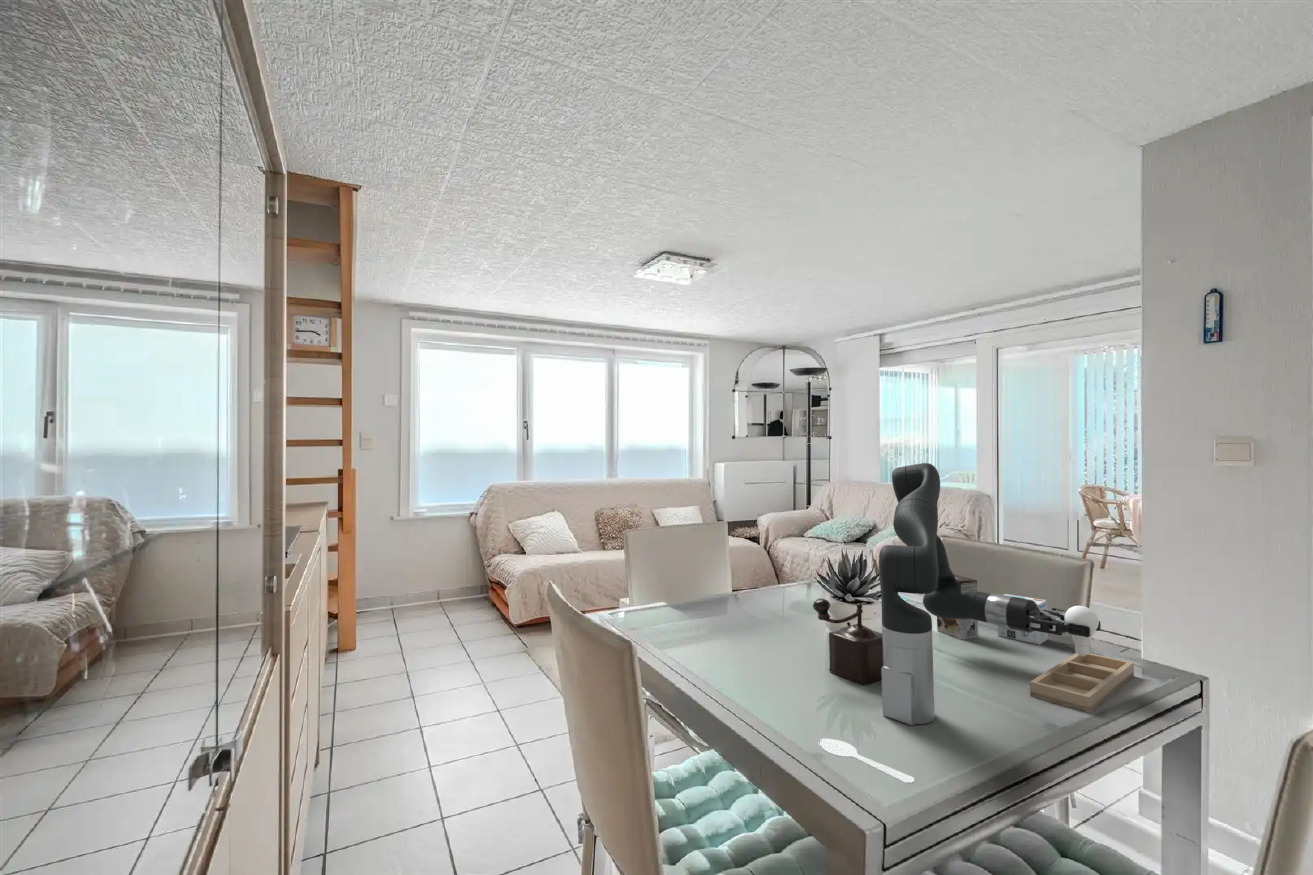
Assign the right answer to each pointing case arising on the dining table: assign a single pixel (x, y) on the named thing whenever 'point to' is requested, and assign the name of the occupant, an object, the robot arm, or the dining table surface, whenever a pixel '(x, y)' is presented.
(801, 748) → the dining table surface
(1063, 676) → the wooden compartment tray
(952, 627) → the cookie box
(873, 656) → the manual coffee grinder
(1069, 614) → the lightbulb
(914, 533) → the robot arm
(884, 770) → the spoon
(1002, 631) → the light bulb box
